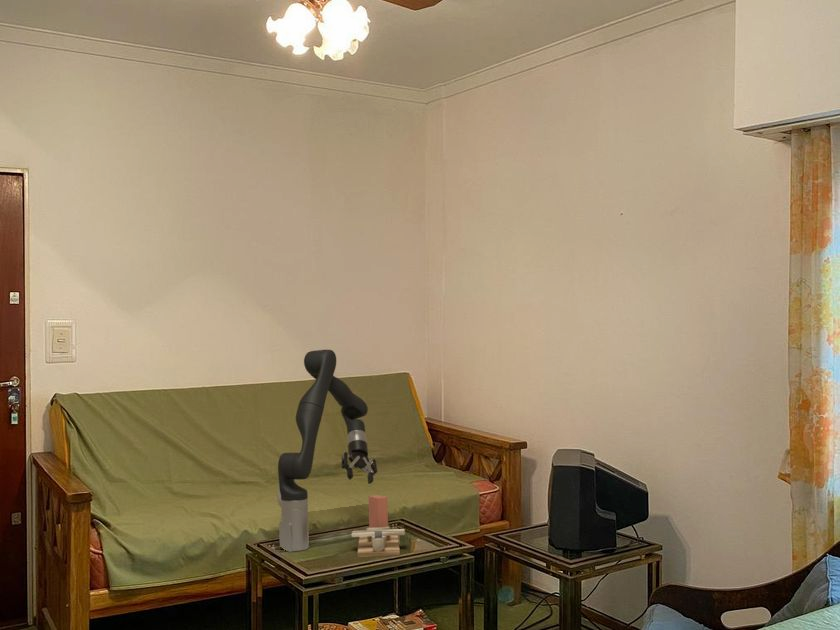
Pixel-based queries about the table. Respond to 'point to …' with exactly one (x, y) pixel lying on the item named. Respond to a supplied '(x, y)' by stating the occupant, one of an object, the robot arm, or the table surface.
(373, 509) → the terracotta rectangular block
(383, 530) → the jig
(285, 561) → the table surface
